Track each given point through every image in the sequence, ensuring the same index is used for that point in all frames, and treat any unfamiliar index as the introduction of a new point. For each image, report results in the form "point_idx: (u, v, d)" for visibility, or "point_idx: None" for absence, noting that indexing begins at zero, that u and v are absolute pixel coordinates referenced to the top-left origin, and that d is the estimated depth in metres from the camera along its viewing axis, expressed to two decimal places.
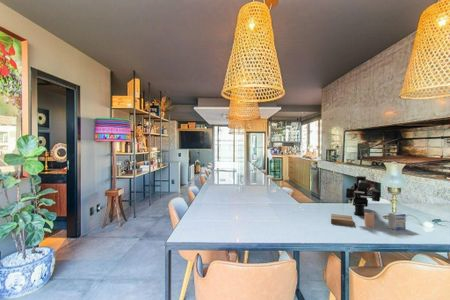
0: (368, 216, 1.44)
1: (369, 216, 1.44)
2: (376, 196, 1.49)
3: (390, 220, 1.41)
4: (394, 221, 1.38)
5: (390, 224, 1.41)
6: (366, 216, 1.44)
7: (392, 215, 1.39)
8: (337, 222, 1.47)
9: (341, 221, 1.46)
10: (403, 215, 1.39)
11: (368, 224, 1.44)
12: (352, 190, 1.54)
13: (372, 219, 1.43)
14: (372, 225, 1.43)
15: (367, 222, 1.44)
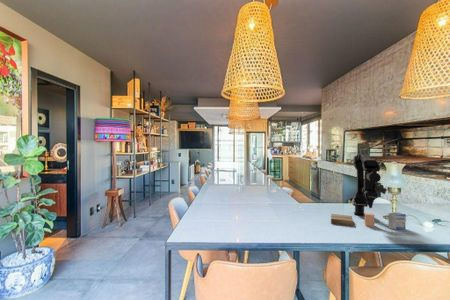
0: (368, 216, 1.44)
1: (369, 216, 1.44)
2: None
3: (390, 220, 1.41)
4: (394, 221, 1.38)
5: (390, 224, 1.41)
6: (366, 216, 1.44)
7: (392, 215, 1.39)
8: (337, 222, 1.47)
9: (341, 221, 1.46)
10: (403, 215, 1.39)
11: (368, 224, 1.44)
12: None
13: (372, 219, 1.43)
14: (372, 225, 1.43)
15: (367, 222, 1.44)
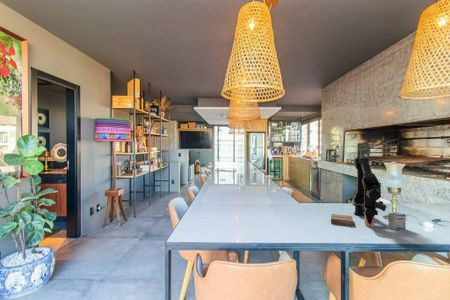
0: None
1: None
2: None
3: (390, 220, 1.41)
4: (394, 221, 1.38)
5: (390, 224, 1.41)
6: None
7: (392, 215, 1.39)
8: (337, 222, 1.47)
9: (341, 221, 1.46)
10: (403, 215, 1.39)
11: (368, 224, 1.44)
12: None
13: (372, 219, 1.43)
14: (372, 225, 1.43)
15: (367, 222, 1.44)
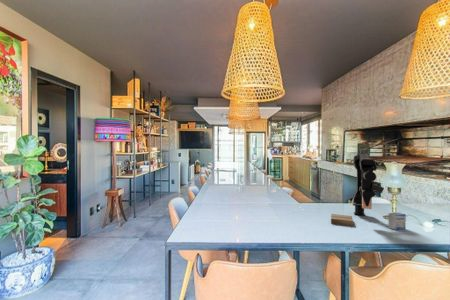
0: None
1: None
2: None
3: (390, 220, 1.41)
4: (394, 221, 1.38)
5: (390, 224, 1.41)
6: None
7: (392, 215, 1.39)
8: (337, 222, 1.47)
9: (341, 221, 1.46)
10: (403, 215, 1.39)
11: (365, 206, 1.44)
12: None
13: None
14: (369, 207, 1.43)
15: (365, 204, 1.44)
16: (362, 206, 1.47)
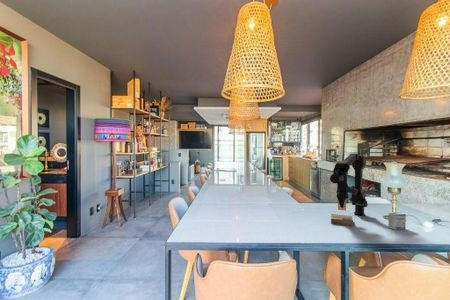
0: None
1: None
2: None
3: (390, 220, 1.41)
4: (394, 221, 1.38)
5: (390, 224, 1.41)
6: None
7: (392, 215, 1.39)
8: (337, 222, 1.47)
9: (341, 221, 1.46)
10: (403, 215, 1.39)
11: (340, 208, 1.50)
12: None
13: (344, 203, 1.49)
14: (344, 209, 1.49)
15: None
16: None
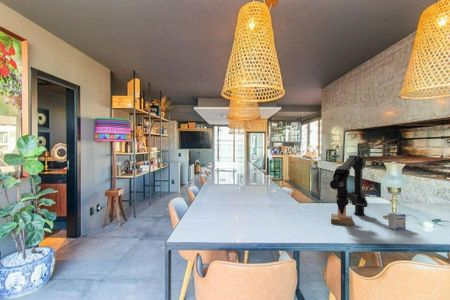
0: None
1: None
2: None
3: (390, 220, 1.41)
4: (394, 221, 1.38)
5: (390, 224, 1.41)
6: (338, 208, 1.50)
7: (392, 215, 1.39)
8: (337, 222, 1.47)
9: (341, 221, 1.46)
10: (403, 215, 1.39)
11: (340, 216, 1.50)
12: None
13: (344, 211, 1.49)
14: (344, 217, 1.49)
15: (340, 214, 1.50)
16: None
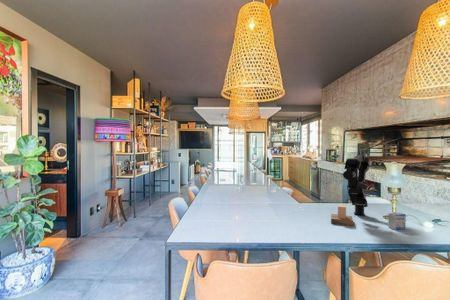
0: (340, 208, 1.50)
1: (341, 208, 1.50)
2: None
3: (390, 220, 1.41)
4: (394, 221, 1.38)
5: (390, 224, 1.41)
6: (338, 208, 1.50)
7: (392, 215, 1.39)
8: (337, 222, 1.47)
9: (341, 221, 1.46)
10: (403, 215, 1.39)
11: (340, 216, 1.50)
12: None
13: (344, 211, 1.49)
14: (344, 217, 1.49)
15: (340, 214, 1.50)
16: None
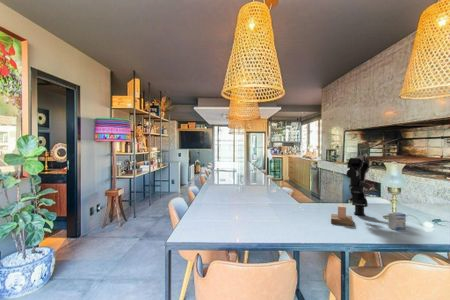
0: (340, 208, 1.50)
1: (341, 208, 1.50)
2: None
3: (390, 220, 1.41)
4: (394, 221, 1.38)
5: (390, 224, 1.41)
6: (338, 208, 1.50)
7: (392, 215, 1.39)
8: (337, 222, 1.47)
9: (341, 221, 1.46)
10: (403, 215, 1.39)
11: (340, 216, 1.50)
12: None
13: (344, 211, 1.49)
14: (344, 217, 1.49)
15: (340, 214, 1.50)
16: None
